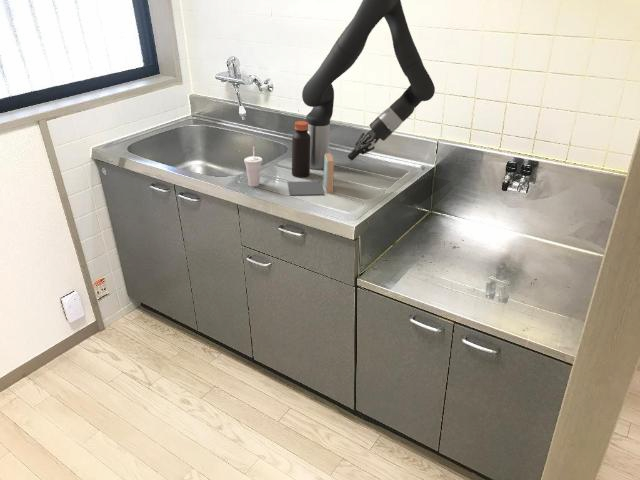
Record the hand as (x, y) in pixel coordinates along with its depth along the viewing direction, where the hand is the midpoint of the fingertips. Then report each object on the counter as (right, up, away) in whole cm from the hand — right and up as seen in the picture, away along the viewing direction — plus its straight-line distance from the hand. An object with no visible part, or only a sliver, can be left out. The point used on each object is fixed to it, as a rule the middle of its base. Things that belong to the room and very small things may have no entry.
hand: (349, 158), depth 188 cm
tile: (-8, -10, +5) cm, 14 cm away
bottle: (-18, -4, +16) cm, 24 cm away
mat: (-16, -10, +4) cm, 19 cm away
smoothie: (-34, -9, +6) cm, 36 cm away
